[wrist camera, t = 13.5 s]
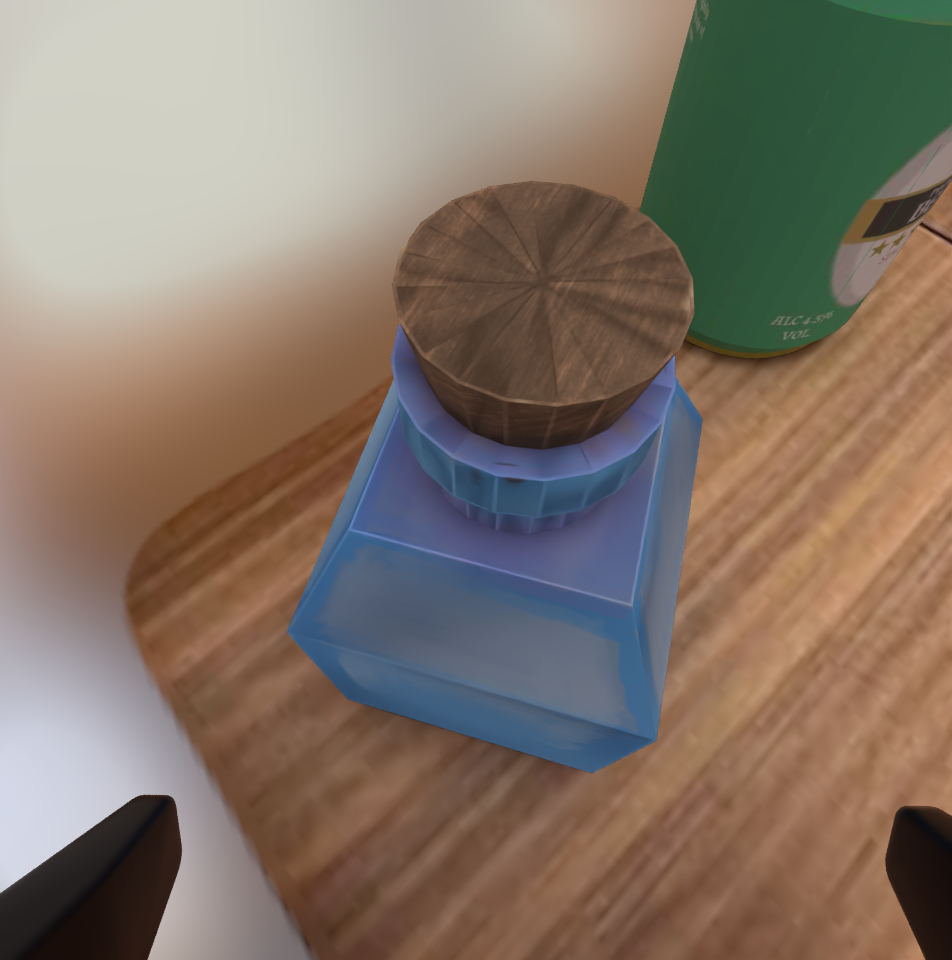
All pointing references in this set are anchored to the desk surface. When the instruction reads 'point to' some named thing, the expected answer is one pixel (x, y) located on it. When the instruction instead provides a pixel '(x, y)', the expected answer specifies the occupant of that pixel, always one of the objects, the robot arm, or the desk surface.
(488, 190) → the perfume bottle
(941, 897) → the robot arm
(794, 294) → the beverage can
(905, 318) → the desk surface
